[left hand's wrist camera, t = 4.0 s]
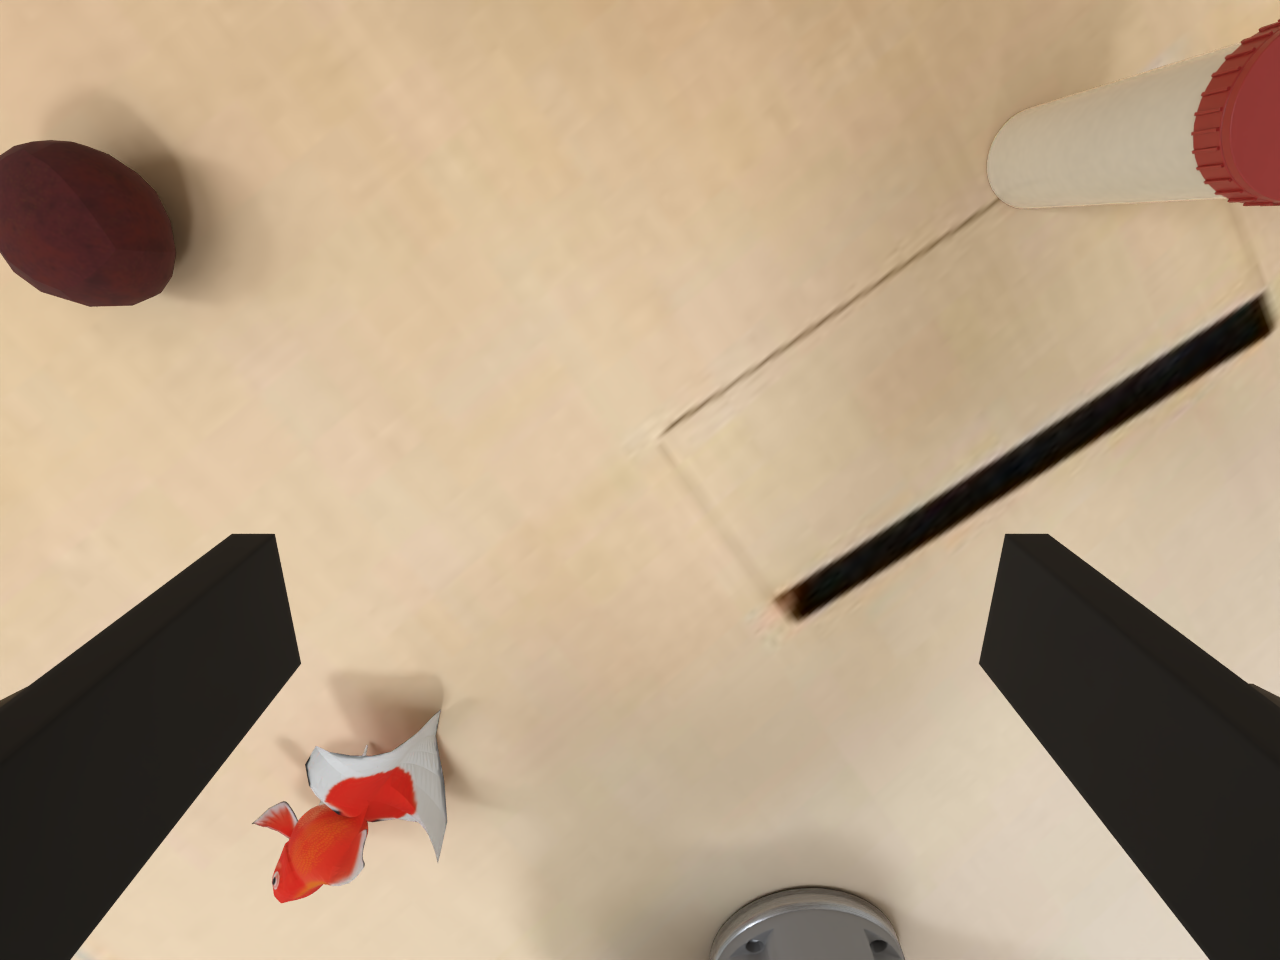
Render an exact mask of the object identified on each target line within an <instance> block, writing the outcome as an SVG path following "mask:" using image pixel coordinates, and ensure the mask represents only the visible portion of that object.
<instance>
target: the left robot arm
mask: <svg viewBox="0 0 1280 960" xmlns="http://www.w3.org/2000/svg"><path fill="white" fill-rule="evenodd" d="M300 664H301V661H300V656H299V651H298V646H297V641H296V636H295V632H294V627H293V622H292V617H291V612H290V607H289V602H288V597H287V592H286V587H285V582H284V577H283V572H282V567H281V562H280V558H279V553H278V548H277V543H276V538H275V534H231V535H230V536H229V537H227V538H226V539H225V540H223V541H222V542H221V543H219V544H218V545H217V546H215V547H214V548H213V549H211V550H210V551H209V552H207V553H206V554H205V555H203V556H202V557H201V558H199V559H198V560H197V561H195V562H194V563H193V564H191V565H190V566H189V567H187V568H186V569H185V570H183V571H182V572H181V573H179V574H178V575H177V576H175V577H174V578H173V579H171V580H170V581H168V582H167V583H166V584H164V585H163V586H162V587H160V588H159V589H158V590H156V591H155V592H154V593H152V594H151V595H150V596H148V597H147V598H146V599H144V600H143V601H142V602H140V603H139V604H138V605H136V606H135V607H134V608H132V609H131V610H130V611H128V612H127V613H126V614H124V615H123V616H122V617H120V618H119V619H118V620H116V621H115V622H114V623H112V624H111V625H110V626H108V627H107V628H106V629H104V630H103V631H102V632H100V633H99V634H98V635H96V636H95V637H94V638H92V639H91V640H90V641H88V642H87V643H86V644H84V645H83V646H82V647H80V648H79V649H78V650H76V651H75V652H74V653H72V654H71V655H70V656H68V657H67V658H66V659H64V660H63V661H62V662H60V663H59V664H58V665H56V666H55V667H54V668H52V669H51V670H50V671H48V672H47V673H46V674H44V675H43V676H42V677H40V678H39V679H38V680H36V681H35V682H34V683H32V684H31V685H30V686H28V687H26V688H24V689H22V690H20V691H18V692H16V693H14V694H12V695H10V696H8V697H6V698H4V699H2V700H0V960H71V958H72V957H73V956H74V954H75V953H76V952H77V951H78V949H79V948H80V947H81V945H82V944H83V943H84V942H85V940H86V939H87V938H88V936H89V935H90V934H91V933H92V931H93V930H94V929H95V927H96V926H97V925H98V924H99V922H100V921H101V920H102V918H103V917H104V916H105V915H106V913H107V912H108V911H109V909H110V908H111V907H112V906H113V904H114V903H115V902H116V900H117V899H118V898H119V897H120V895H121V894H122V893H123V891H124V890H125V889H126V888H127V886H128V885H129V884H130V883H131V881H132V880H133V879H134V877H135V876H136V875H137V874H138V872H139V871H140V870H141V868H142V867H143V866H144V865H145V863H146V862H147V861H148V859H149V858H150V857H151V856H152V854H153V853H154V852H155V850H156V849H157V848H158V847H159V845H160V844H161V843H162V841H163V840H164V839H165V838H166V836H167V835H168V834H169V832H170V831H171V830H172V829H173V827H174V826H175V825H176V823H177V822H178V821H179V820H180V818H181V817H182V816H183V814H184V813H185V812H186V811H187V809H188V808H189V807H190V806H191V804H192V803H193V802H194V800H195V799H196V798H197V797H198V795H199V794H200V793H201V791H202V790H203V789H204V788H205V786H206V785H207V784H208V782H209V781H210V780H211V779H212V777H213V776H214V775H215V773H216V772H217V771H218V770H219V768H220V767H221V766H222V764H223V763H224V762H225V761H226V759H227V758H228V757H229V755H230V754H231V753H232V752H233V750H234V749H235V748H236V746H237V745H238V744H239V743H240V741H241V740H242V739H243V737H244V736H245V735H246V734H247V732H248V731H249V730H250V729H251V727H252V726H253V725H254V723H255V722H256V721H257V720H258V718H259V717H260V716H261V714H262V713H263V712H264V711H265V709H266V708H267V707H268V705H269V704H270V703H271V702H272V700H273V699H274V698H275V696H276V695H277V694H278V693H279V691H280V690H281V689H282V687H283V686H284V685H285V684H286V682H287V681H288V680H289V678H290V677H291V676H292V675H293V673H294V672H295V671H296V669H297V668H298V667H299V666H300ZM979 664H980V666H981V667H982V668H983V669H984V671H985V672H986V673H987V675H988V676H989V677H990V678H991V680H992V681H993V682H994V684H995V685H996V686H997V687H998V689H999V690H1000V691H1001V693H1002V694H1003V695H1004V696H1005V698H1006V699H1007V700H1008V702H1009V703H1010V704H1011V705H1012V707H1013V708H1014V709H1015V711H1016V712H1017V713H1018V714H1019V716H1020V717H1021V718H1022V720H1023V721H1024V722H1025V723H1026V725H1027V726H1028V727H1029V729H1030V730H1031V731H1032V732H1033V734H1034V735H1035V736H1036V738H1037V739H1038V740H1039V741H1040V743H1041V744H1042V745H1043V746H1044V748H1045V749H1046V750H1047V752H1048V753H1049V754H1050V755H1051V757H1052V758H1053V759H1054V761H1055V762H1056V763H1057V764H1058V766H1059V767H1060V768H1061V770H1062V771H1063V772H1064V773H1065V775H1066V776H1067V777H1068V779H1069V780H1070V781H1071V782H1072V784H1073V785H1074V786H1075V788H1076V789H1077V790H1078V791H1079V793H1080V794H1081V795H1082V797H1083V798H1084V799H1085V800H1086V802H1087V803H1088V804H1089V806H1090V807H1091V808H1092V809H1093V811H1094V812H1095V813H1096V815H1097V816H1098V817H1099V818H1100V820H1101V821H1102V822H1103V823H1104V825H1105V826H1106V827H1107V829H1108V830H1109V831H1110V832H1111V834H1112V835H1113V836H1114V838H1115V839H1116V840H1117V841H1118V843H1119V844H1120V845H1121V847H1122V848H1123V849H1124V850H1125V852H1126V853H1127V854H1128V856H1129V857H1130V858H1131V859H1132V861H1133V862H1134V863H1135V865H1136V866H1137V867H1138V868H1139V870H1140V871H1141V872H1142V874H1143V875H1144V876H1145V877H1146V879H1147V880H1148V881H1149V883H1150V884H1151V885H1152V886H1153V888H1154V889H1155V890H1156V892H1157V893H1158V894H1159V895H1160V897H1161V898H1162V899H1163V900H1164V902H1165V903H1166V904H1167V906H1168V907H1169V908H1170V909H1171V911H1172V912H1173V913H1174V915H1175V916H1176V917H1177V918H1178V920H1179V921H1180V922H1181V924H1182V925H1183V926H1184V927H1185V929H1186V930H1187V931H1188V933H1189V934H1190V935H1191V936H1192V938H1193V939H1194V940H1195V942H1196V943H1197V944H1198V945H1199V947H1200V948H1201V949H1202V951H1203V952H1204V953H1205V954H1206V956H1207V957H1208V958H1209V960H1280V697H1278V696H1276V695H1274V694H1272V693H1270V692H1268V691H1266V690H1264V689H1262V688H1260V687H1258V686H1256V685H1254V684H1248V683H1246V682H1245V681H1244V680H1242V679H1241V678H1240V677H1238V676H1237V675H1236V674H1234V673H1233V672H1232V671H1230V670H1229V669H1228V668H1226V667H1225V666H1224V665H1222V664H1221V663H1220V662H1218V661H1217V660H1216V659H1214V658H1213V657H1212V656H1210V655H1209V654H1208V653H1206V652H1205V651H1204V650H1202V649H1201V648H1200V647H1198V646H1197V645H1196V644H1194V643H1193V642H1192V641H1190V640H1189V639H1188V638H1186V637H1185V636H1184V635H1182V634H1181V633H1180V632H1178V631H1177V630H1176V629H1174V628H1173V627H1172V626H1170V625H1169V624H1168V623H1166V622H1165V621H1164V620H1162V619H1161V618H1160V617H1158V616H1157V615H1156V614H1154V613H1153V612H1152V611H1150V610H1149V609H1148V608H1146V607H1145V606H1144V605H1142V604H1141V603H1140V602H1138V601H1137V600H1136V599H1134V598H1133V597H1132V596H1130V595H1129V594H1128V593H1126V592H1125V591H1124V590H1122V589H1121V588H1120V587H1118V586H1117V585H1116V584H1114V583H1113V582H1112V581H1110V580H1109V579H1107V578H1106V577H1105V576H1103V575H1102V574H1101V573H1099V572H1098V571H1097V570H1095V569H1094V568H1093V567H1091V566H1090V565H1089V564H1087V563H1086V562H1085V561H1083V560H1082V559H1081V558H1079V557H1078V556H1077V555H1075V554H1074V553H1073V552H1071V551H1070V550H1069V549H1067V548H1066V547H1065V546H1063V545H1062V544H1061V543H1059V542H1058V541H1057V540H1055V539H1054V538H1053V537H1051V536H1050V535H1049V534H1005V538H1004V543H1003V548H1002V553H1001V558H1000V562H999V567H998V572H997V577H996V582H995V587H994V592H993V597H992V602H991V607H990V612H989V617H988V622H987V627H986V632H985V636H984V641H983V646H982V651H981V656H980V661H979ZM710 960H905V958H904V955H903V952H902V949H901V946H900V944H899V941H898V938H897V935H896V933H895V930H894V928H893V926H892V924H891V923H890V921H889V920H888V918H887V917H886V916H885V915H884V914H883V913H882V912H881V911H880V910H879V909H878V908H876V907H875V906H874V905H872V904H871V903H869V902H867V901H865V900H863V899H861V898H859V897H857V896H854V895H852V894H849V893H845V892H841V891H837V890H831V889H823V888H801V889H792V890H787V891H782V892H778V893H774V894H771V895H768V896H765V897H763V898H760V899H758V900H756V901H754V902H752V903H750V904H748V905H746V906H745V907H743V908H742V909H740V910H739V911H737V912H736V913H735V914H734V915H733V916H731V917H730V918H729V919H728V920H727V921H726V922H725V924H724V925H723V926H722V927H721V929H720V930H719V932H718V933H717V935H716V937H715V939H714V942H713V944H712V948H711V954H710Z"/></svg>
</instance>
